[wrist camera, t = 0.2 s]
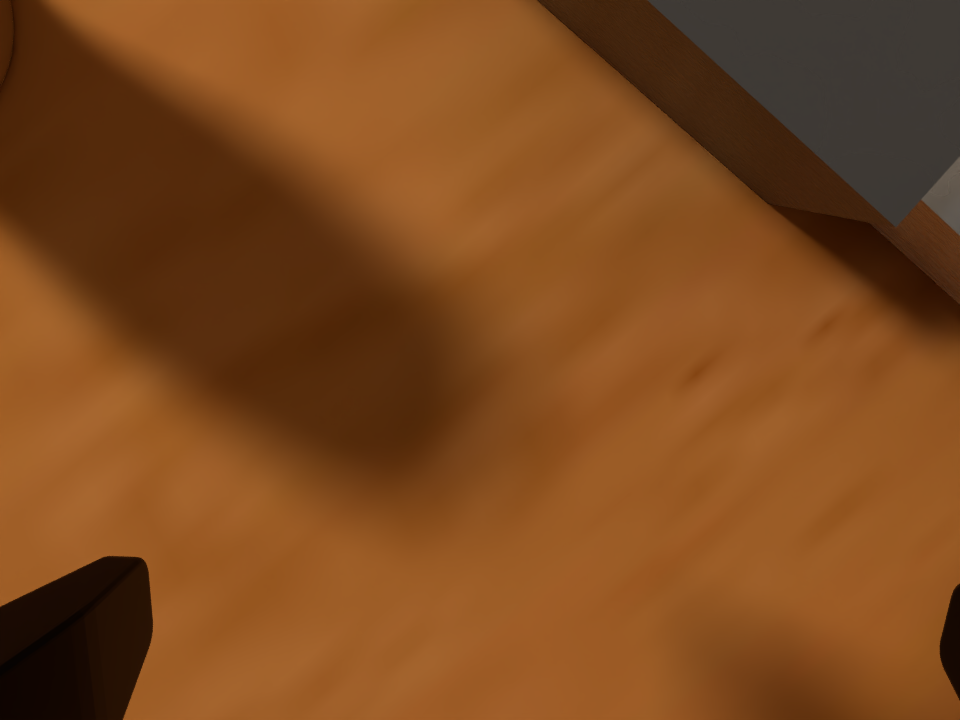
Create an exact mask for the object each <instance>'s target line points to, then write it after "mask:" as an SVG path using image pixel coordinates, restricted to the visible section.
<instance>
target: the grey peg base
mask: <svg viewBox="0 0 960 720" xmlns="http://www.w3.org/2000/svg"><path fill="white" fill-rule="evenodd" d="M870 224H871V225H872V226H873V227H874V228H875V229H876V230H878V231H879V232H880V233H881V234H882V235H883V236H884V237H885V238H886V239H888V240H889V241H890V242H891V243H892V244H893V245H894V246H895V247H896V248H897V249H899V250H900V251H901V252H902V253H903V254H904V255H905V256H906V257H907V258H908V259H910V260H911V261H912V262H913V263H914V264H915V265H916V266H917V267H918V268H919V269H921V270H922V271H923V272H924V273H925V274H926V275H927V276H928V277H929V278H931V279H932V280H933V281H934V282H935V283H936V284H937V285H938V286H939V287H940V288H942V289H943V290H944V291H945V292H946V293H947V294H948V295H949V296H950V297H951V298H953V299H954V300H955V301H956V302H957V303H958V304H959V305H960V157H959V158H958V159H957V160H956V161H955V162H954V163H953V165H952V166H951V167H950V168H949V169H948V170H947V171H946V172H945V173H944V175H943V176H942V177H941V178H940V179H939V180H938V181H937V182H936V184H935V185H934V186H933V187H932V188H931V189H930V190H929V191H928V192H927V194H926V195H925V196H924V197H923V198H922V199H921V200H920V201H919V202H918V204H917V205H916V206H915V207H914V208H913V209H912V210H911V211H910V212H909V214H908V215H907V216H906V217H905V218H904V219H903V220H902V221H901V222H900V224H899V225H898V226H897V227H891V226H885V225H880V224H874V223H870Z"/></svg>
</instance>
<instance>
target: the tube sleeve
mask: <svg viewBox="0 0 960 720" xmlns="http://www.w3.org/2000/svg"><path fill="white" fill-rule="evenodd" d="M538 1H539V2H540V3H541V4H542V5H543V6H545V7H546V8H547V9H548V10H549V11H550V12H551V13H553V14H554V15H555V16H556V17H557V18H558V19H559V20H560V21H562V22H563V23H564V24H565V25H566V26H567V27H568V28H570V29H571V30H572V31H573V32H574V33H575V34H576V35H577V36H579V37H580V38H581V39H582V40H583V41H584V42H585V43H587V44H588V45H589V46H590V47H591V48H592V49H593V50H594V51H596V52H597V53H598V54H599V55H600V56H601V57H602V58H604V59H605V60H606V61H607V62H608V63H609V64H610V65H611V66H613V67H614V68H615V69H616V70H617V71H618V72H619V73H621V74H622V75H623V76H624V77H625V78H626V79H627V80H628V81H630V82H631V83H632V84H633V85H634V86H635V87H636V88H638V89H639V90H640V91H641V92H642V93H643V94H644V95H645V96H647V97H648V98H649V99H650V100H651V101H652V102H653V103H655V104H656V105H657V106H658V107H659V108H660V109H661V110H662V111H664V112H665V113H666V114H667V115H668V116H669V117H670V118H672V119H673V120H674V121H675V122H676V123H677V124H678V125H679V126H681V127H682V128H683V129H684V130H685V131H686V132H687V133H688V134H690V135H691V136H692V137H693V138H694V139H695V140H696V141H698V142H699V143H700V144H701V145H702V146H703V147H704V148H705V149H707V150H708V151H709V152H710V153H711V154H712V155H713V156H715V157H716V158H717V159H718V160H719V161H720V162H721V163H722V164H724V165H725V166H726V167H727V168H728V169H729V170H730V171H732V172H733V173H734V174H735V175H736V176H737V177H738V178H739V179H741V180H742V181H743V182H744V183H745V184H746V185H747V186H749V187H750V188H751V189H752V190H753V191H754V192H755V193H756V194H758V195H759V196H760V197H761V198H762V199H763V200H764V201H766V202H767V203H768V204H773V205H778V206H783V207H789V208H794V209H799V210H805V211H810V212H815V213H821V214H826V215H832V216H837V217H842V218H848V219H853V220H858V221H864V222H869V223H874V224H880V225H885V226H891V227H897V226H898V225H899V224H900V222H901V221H902V220H903V219H904V218H905V217H906V216H907V215H908V214H909V212H910V211H911V210H912V209H913V208H914V207H915V206H916V205H917V204H918V202H919V201H920V200H921V199H922V198H923V197H924V196H925V195H926V194H927V192H928V191H929V190H930V189H931V188H932V187H933V186H934V185H935V184H936V182H937V181H938V180H939V179H940V178H941V177H942V176H943V175H944V173H945V172H946V171H947V170H948V169H949V168H950V167H951V166H952V165H953V163H954V162H955V161H956V160H957V159H958V158H959V157H960V0H538Z"/></svg>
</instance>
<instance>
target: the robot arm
mask: <svg viewBox="0 0 960 720" xmlns="http://www.w3.org/2000/svg"><path fill="white" fill-rule="evenodd" d="M152 632H153V617H152V606H151V594H150V583H149V572H148V567H147V565H146V562H145V561H144V560H143V559H142V558H139V557H124V556H107V557H103V558H101V559H98V560H96V561H94V562H92V563H90V564H88V565H86V566H84V567H82V568H80V569H78V570H76V571H73V572H71V573H69V574H67V575H65V576H63V577H61V578H59V579H57V580H55V581H53V582H51V583H48V584H46V585H44V586H42V587H40V588H38V589H36V590H34V591H32V592H30V593H28V594H26V595H23V596H21V597H19V598H17V599H15V600H13V601H11V602H9V603H7V604H5V605H3V606H1V607H0V720H123V718H124V715H125V712H126V710H127V707H128V704H129V701H130V699H131V696H132V693H133V690H134V688H135V685H136V682H137V679H138V677H139V674H140V671H141V668H142V666H143V663H144V660H145V657H146V655H147V652H148V649H149V646H150V643H151V638H152ZM940 658H941V662H942V665H943V668H944V670H945V672H946V674H947V676H948V678H949V680H950V682H951V684H952V686H953V688H954V690H955V692H956V694H957V696H958V698H959V700H960V584H958V585H957V586H956V588H955V589H954V590H953V593H952V596H951V600H950V604H949V608H948V612H947V616H946V620H945V624H944V628H943V632H942V636H941V640H940Z"/></svg>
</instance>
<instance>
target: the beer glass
mask: <svg viewBox="0 0 960 720" xmlns="http://www.w3.org/2000/svg"><path fill="white" fill-rule="evenodd" d="M13 39H14V22H13V13H12V6H11V1H10V0H0V86H1V84H2V82H3V80H4V78H5V75H6V73H7V70H8V67H9V64H10V60H11V55H12V49H13Z"/></svg>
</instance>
